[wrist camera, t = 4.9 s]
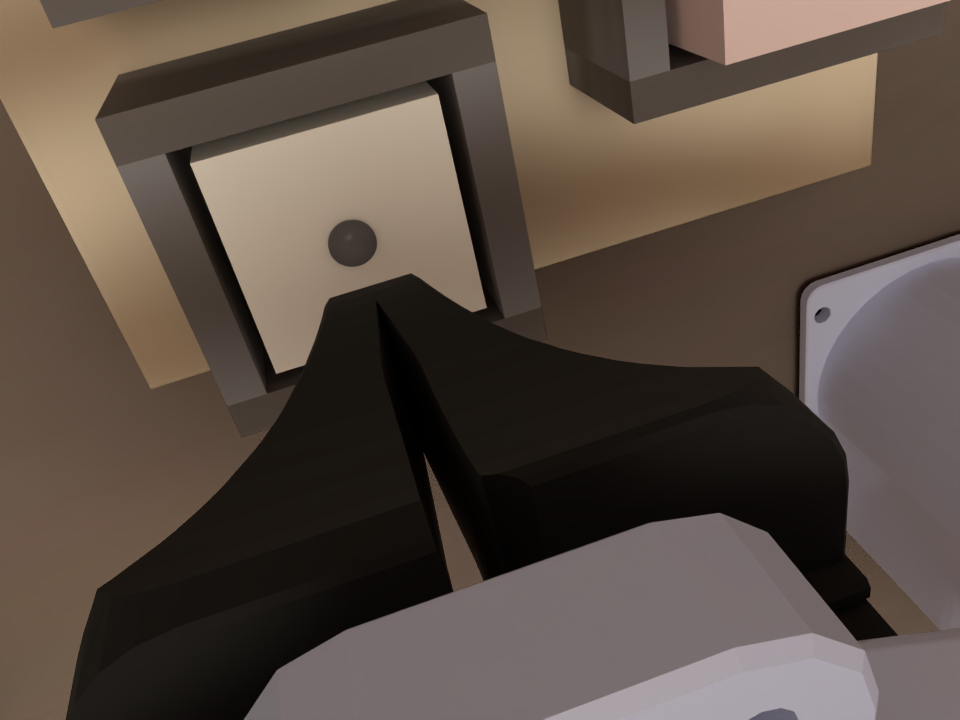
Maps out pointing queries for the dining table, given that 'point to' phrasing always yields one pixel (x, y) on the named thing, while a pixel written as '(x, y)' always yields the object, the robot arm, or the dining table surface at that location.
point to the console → (469, 124)
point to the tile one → (338, 211)
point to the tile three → (770, 23)
